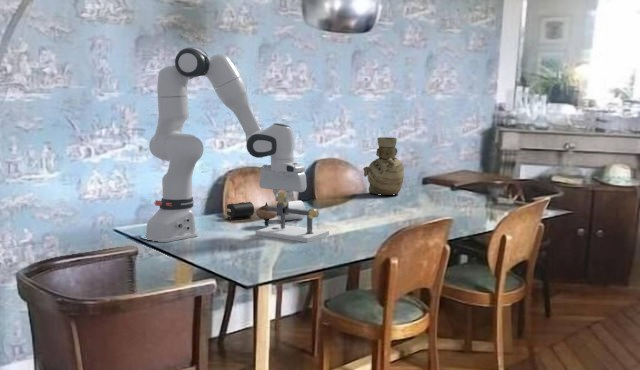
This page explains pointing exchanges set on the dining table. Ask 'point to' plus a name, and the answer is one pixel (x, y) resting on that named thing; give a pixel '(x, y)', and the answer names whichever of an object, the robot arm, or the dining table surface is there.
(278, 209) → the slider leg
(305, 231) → the hole board
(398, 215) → the dining table surface
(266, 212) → the brown spinning top
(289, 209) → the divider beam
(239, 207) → the end cap
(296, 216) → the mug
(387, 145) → the ceramic vessel
